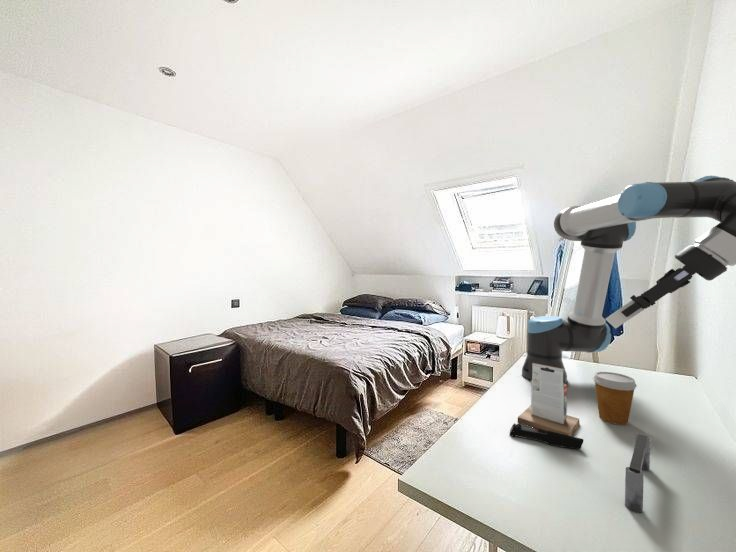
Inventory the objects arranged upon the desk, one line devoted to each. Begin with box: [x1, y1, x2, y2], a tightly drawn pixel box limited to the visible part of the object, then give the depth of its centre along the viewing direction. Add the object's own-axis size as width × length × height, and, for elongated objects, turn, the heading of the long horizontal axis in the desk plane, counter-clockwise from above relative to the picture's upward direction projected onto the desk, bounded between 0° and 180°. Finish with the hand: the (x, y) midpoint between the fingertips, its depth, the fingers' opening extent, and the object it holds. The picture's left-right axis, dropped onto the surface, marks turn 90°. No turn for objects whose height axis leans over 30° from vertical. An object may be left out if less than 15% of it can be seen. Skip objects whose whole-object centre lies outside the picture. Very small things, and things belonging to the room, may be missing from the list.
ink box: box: [530, 363, 568, 424], centre depth 84 cm, size 4×8×15 cm, turn 45°
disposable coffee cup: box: [592, 371, 638, 426], centre depth 86 cm, size 10×10×12 cm
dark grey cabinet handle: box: [624, 433, 651, 514], centre depth 60 cm, size 18×2×7 cm, turn 135°
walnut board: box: [517, 405, 580, 437], centre depth 84 cm, size 11×12×2 cm
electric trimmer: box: [509, 423, 584, 450], centre depth 75 cm, size 4×16×3 cm, turn 61°
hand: (614, 320), depth 74 cm, fingers open, 13 cm apart
